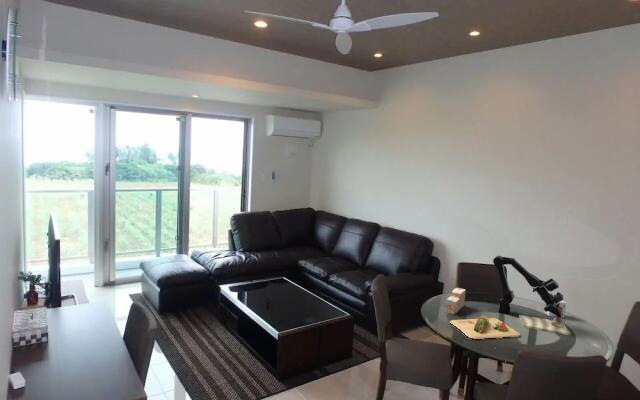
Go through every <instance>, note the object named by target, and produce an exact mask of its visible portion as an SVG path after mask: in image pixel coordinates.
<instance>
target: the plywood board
mask: <svg viewBox="0 0 640 400" xmlns="http://www.w3.org/2000/svg"><path fill="white" fill-rule="evenodd" d="M518 318H519V320H520V322H521V324H522V327H523V328H525V329H530V330H536V331H541V332H548V333H551V334H552V333H553V334H559V335H565V336H568V337H569V336H571V335H572V333H571V331H570V330H569V328H568V327H567V326H566V325H565V324H564V326H563V327H562V328H560V327H557V326H553V325H551V322H552V320H553V319H547V318H541V317H535V316H528V315H523V314H518Z"/></svg>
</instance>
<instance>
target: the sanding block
mask: <svg viewBox="0 0 640 400" xmlns="http://www.w3.org/2000/svg"><path fill="white" fill-rule="evenodd" d="M558 311H559V313H560V315H561V318H559V317H558V316H555V317H556V318H555V317H553V319H551V320H552V322H551V325H553V326H557V327H560V328H562V327H563V326H564V324H565V322H566V321H565V320H562V318H563V317H562V311H563V308H562V307H558Z"/></svg>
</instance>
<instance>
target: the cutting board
mask: <svg viewBox="0 0 640 400" xmlns="http://www.w3.org/2000/svg"><path fill="white" fill-rule="evenodd" d="M450 323H451V324H453V325H454V326H456V327H457V328H458V329H460V330H461V331H462V332H463V333H464V334H465V335H466V336H468V337H469V338H473V339H482V340H485V339H484V338H496V339H504V338H503V337H511V338H519V337H520V336H521V333H520V332H518V331H517V330H515V329H513V328H512V327H511V326H508V324H506V323H505V322H504V321H501V320H500V319H498V318H496V317H490V318H488V317H487V316H486V315H479V317H478V318H469V319H451V320H450V321H449V324H450ZM451 324H450V325H451ZM453 325H452V326H453ZM454 326H453V327H454ZM458 329H457V330H458ZM463 333H462V334H463ZM464 334H463V335H464ZM465 335H464V336H465ZM466 336H465V337H466ZM469 338H468V339H469Z"/></svg>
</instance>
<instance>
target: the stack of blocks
mask: <svg viewBox="0 0 640 400" xmlns="http://www.w3.org/2000/svg"><path fill="white" fill-rule="evenodd" d="M466 292H467V290H466V289H464V288H461V287H455V288H454V289H453V290H452V291H451V294H450V296H449V297H448V298H447V299H446V304H445V313H447V314H450V313H451V315H453V314H454V315H456V313H458V312H459V311H460V310H461V309H462V308H463V307H464V306H465V300H466Z"/></svg>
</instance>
